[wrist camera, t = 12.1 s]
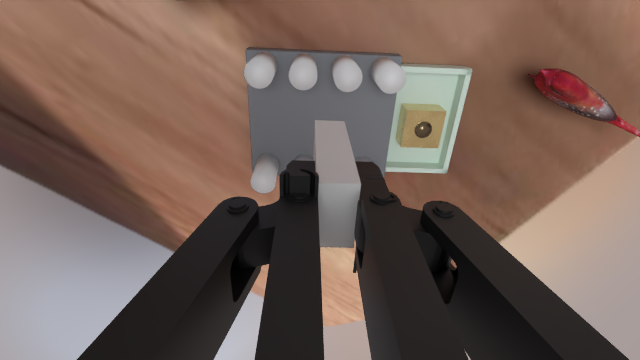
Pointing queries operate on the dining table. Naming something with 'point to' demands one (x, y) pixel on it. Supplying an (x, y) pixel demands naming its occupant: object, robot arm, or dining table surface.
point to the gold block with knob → (420, 125)
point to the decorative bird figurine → (578, 97)
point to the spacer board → (317, 104)
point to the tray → (429, 88)
